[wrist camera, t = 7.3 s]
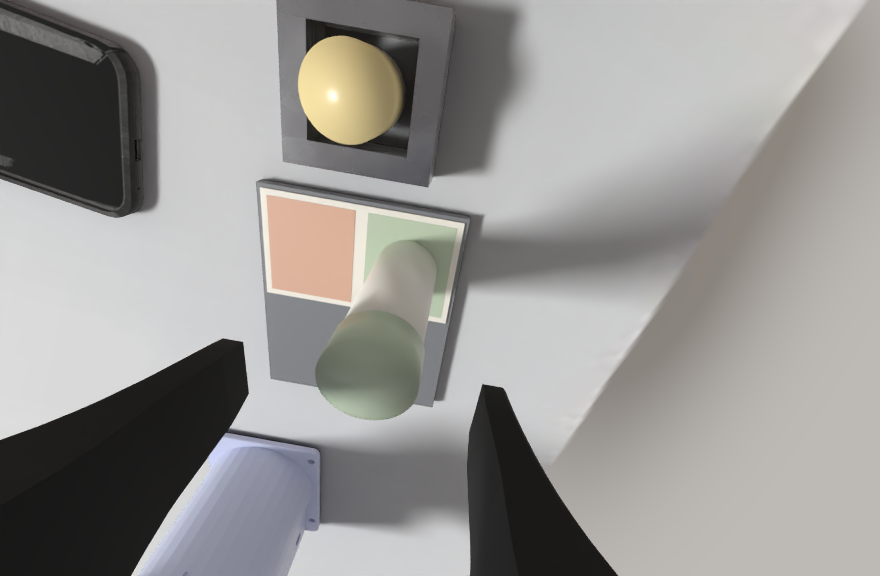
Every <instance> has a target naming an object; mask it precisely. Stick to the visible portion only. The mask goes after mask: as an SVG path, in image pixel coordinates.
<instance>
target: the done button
mask: <svg viewBox="0 0 880 576" xmlns="http://www.w3.org/2000/svg"><path fill="white" fill-rule="evenodd" d="M298 91H299V97H300V101H301V104H302V107H303V109H304V112H305V114H306V116H307V117H308V119H309V120H310V122H311V123H312V125H313V126H314V127H315V128H316V129H317V130H318V131H319V132H320V133H321V134H323V135H324V136H326V137H327V138H329V139H331V140H333V141H335V142H338V143H342V144H348V145H356V144H362V143H364V142H367V141H369V140H371V139H373V138H375V137H377V136H379V135H381V134H383V133H385V132H387V131H388V130H390V129H391V128H392V127H393V126H394V125H395V124H396V123H397V122H398V120H399V118H400V117H401V115H402V112H403V110H404V106H405V101H406V88H405V82H404V79H403V76H402V73H401V71H400V69H399V67H398V65H397V64H396V63H395V61H394V60H393V59H392V58H391V57H390V56H389V55H388V54H387V53H386V52H385V51H383V50H381V49H380V48H378V47H375V46H373V45H371V44H368V43H365V42H363V41H360V40H358V39H355V38H352V37H348V36H333V37H328V38H326V39H323V40H321V41H320V42H318V43H317V44H315V45H314V46H313V47H312V48H311V49H310V50H309V52H308V53H307V54H306V56H305V58H304V60H303V62H302V64H301V67H300V71H299V77H298Z"/></svg>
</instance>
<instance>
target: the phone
mask: <svg viewBox="0 0 880 576" xmlns="http://www.w3.org/2000/svg"><path fill="white" fill-rule="evenodd" d="M134 140H137V159H136V160H135V142H134ZM0 179H3V180H5V181H8V182H11V183H14V184H17V185H20V186H23V187H26V188H29V189H31V190H34V191H37V192H40V193H43V194H46V195H49V196H52V197H54V198H57V199H60V200H63V201H66V202H69V203H72V204H75V205H78V206H80V207H83V208H86V209H89V210H92V211H95V212H98V213H101V214H103V215H106V216H110V217H115V218H118V217H123V216H126V215H129V214H132V213H134V212H136V211H138V210H139V209H140V208H141V206H142V204H143V167H142V128H141V88H140V77H139V72H138V69H137V67H136V65H135V63H134V61H133V60H132V58H131V57H130V55H129V54H128V53H127V52H126V51H125V50H124V49H123V48H122V47H121V46H119V45H117V44H115V43H114V42H112V41H110V40H107V39H104V38H102V37H99V36H97V35H94V34H92V33H89V32H86V31H84V30H81V29H79V28H76V27H73V26H71V25H68V24H66V23H63V22H61V21H58V20H55V19H53V18H50V17H48V16H45V15H43V14H40V13H37V12H35V11H32V10H30V9H27V8H25V7H22V6H19V5H17V4H14V3H12V2H9V1H7V0H0ZM139 187H140V190H138V188H139Z"/></svg>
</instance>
